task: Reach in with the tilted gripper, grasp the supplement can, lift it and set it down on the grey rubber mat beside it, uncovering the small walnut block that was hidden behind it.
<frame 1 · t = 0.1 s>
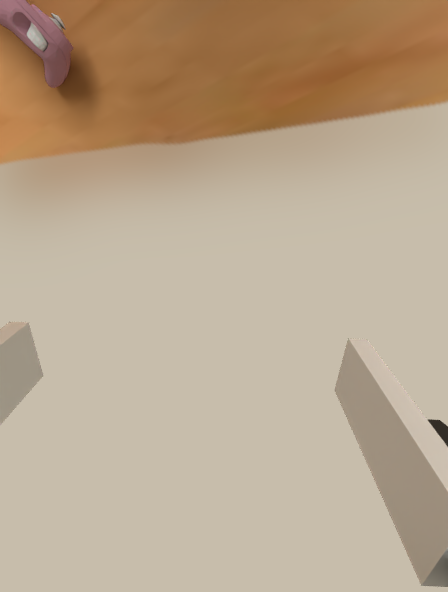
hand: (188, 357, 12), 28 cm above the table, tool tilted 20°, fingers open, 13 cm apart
video game controller: (27, 13, 26), on the table
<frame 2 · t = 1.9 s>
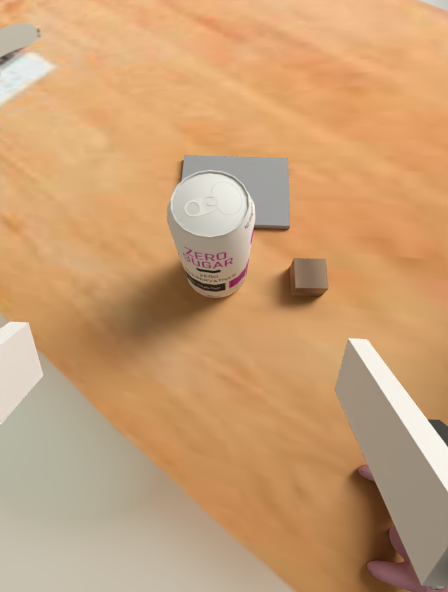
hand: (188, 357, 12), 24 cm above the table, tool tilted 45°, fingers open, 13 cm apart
grey rubber mat: (234, 192, 44), on the table
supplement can: (216, 271, 40), on the table
video game controller: (386, 514, 31), on the table
walnut block: (304, 282, 39), on the table
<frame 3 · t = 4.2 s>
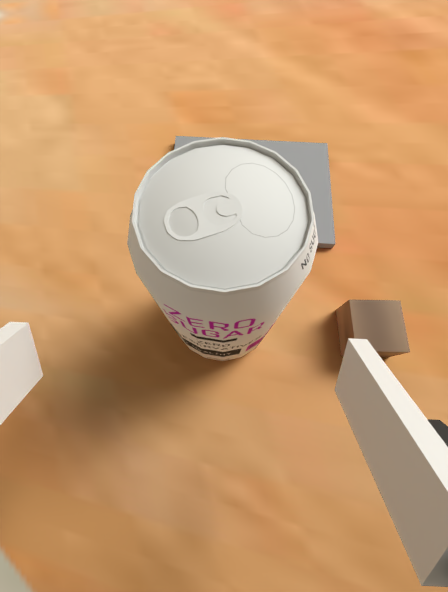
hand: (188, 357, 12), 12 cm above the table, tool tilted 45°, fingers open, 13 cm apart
grey rubber mat: (249, 191, 30), on the table
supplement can: (222, 314, 26), on the table
walnut block: (360, 333, 25), on the table
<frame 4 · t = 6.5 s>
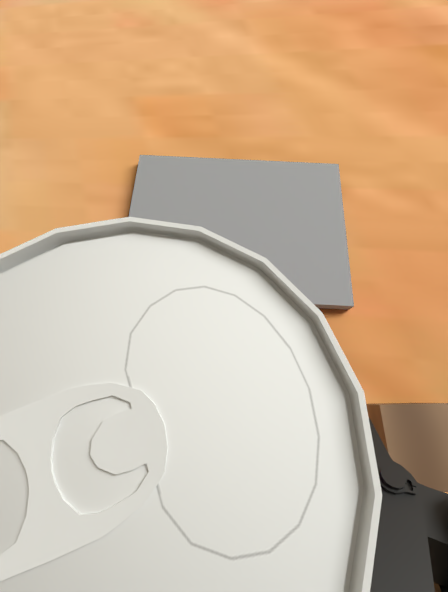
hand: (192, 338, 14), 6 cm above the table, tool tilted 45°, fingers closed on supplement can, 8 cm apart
grey rubber mat: (236, 229, 22), on the table
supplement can: (196, 411, 18), on the table, touching gripper
walnut block: (393, 438, 18), on the table
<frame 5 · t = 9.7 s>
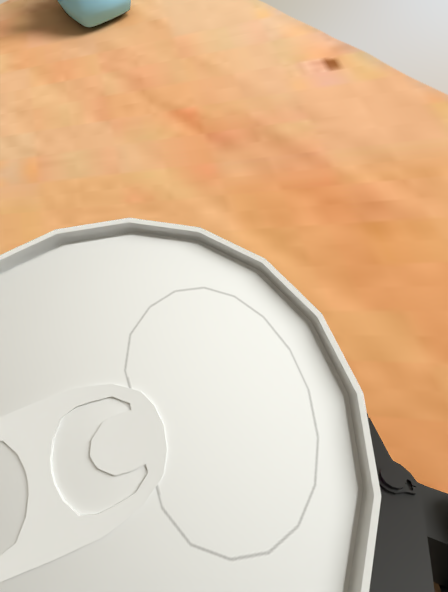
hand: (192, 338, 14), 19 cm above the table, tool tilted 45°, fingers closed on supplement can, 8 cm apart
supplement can: (196, 411, 18), point 14 cm above the table, touching gripper
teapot: (90, 14, 53), on the table
when the fingers open (8 cm above the table, at t = 13.1 s): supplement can drops 1 cm, resting on grey rubber mat.
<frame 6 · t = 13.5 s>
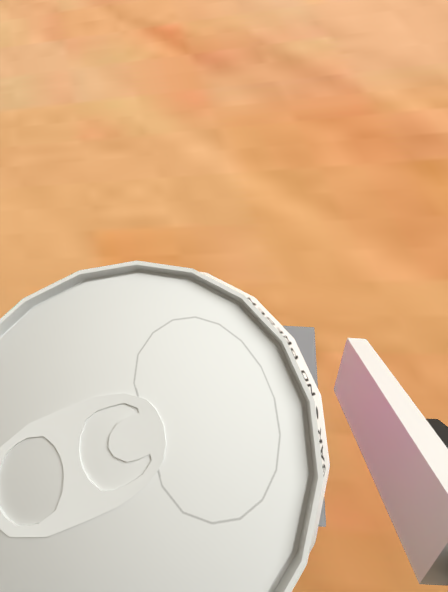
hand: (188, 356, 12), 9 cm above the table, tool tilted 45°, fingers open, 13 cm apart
grey rubber mat: (198, 410, 20), on the table
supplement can: (195, 411, 19), point 1 cm above the table, touching grey rubber mat
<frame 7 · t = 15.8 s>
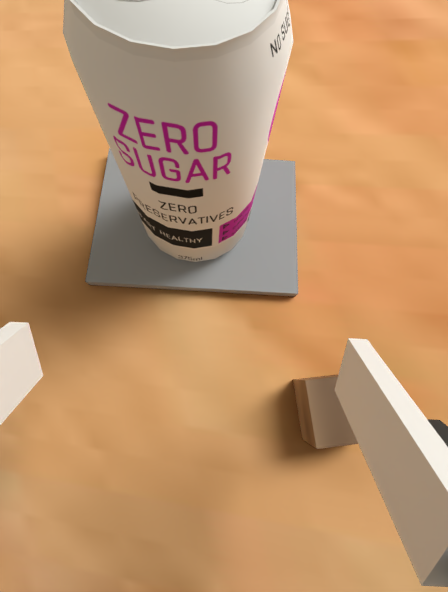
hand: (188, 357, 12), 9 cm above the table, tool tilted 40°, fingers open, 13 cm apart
grey rubber mat: (198, 221, 24), on the table
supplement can: (196, 218, 24), point 1 cm above the table, touching grey rubber mat
walnut block: (323, 405, 21), on the table
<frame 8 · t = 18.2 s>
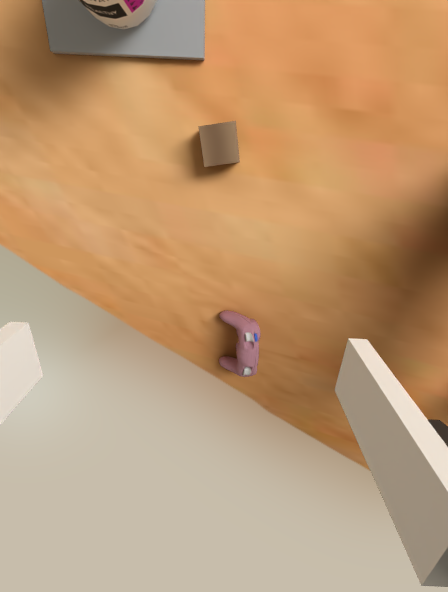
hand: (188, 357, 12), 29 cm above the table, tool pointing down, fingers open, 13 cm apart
video game controller: (238, 335, 46), on the table
walnut block: (220, 145, 35), on the table
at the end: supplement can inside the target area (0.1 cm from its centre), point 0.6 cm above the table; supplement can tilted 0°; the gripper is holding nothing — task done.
